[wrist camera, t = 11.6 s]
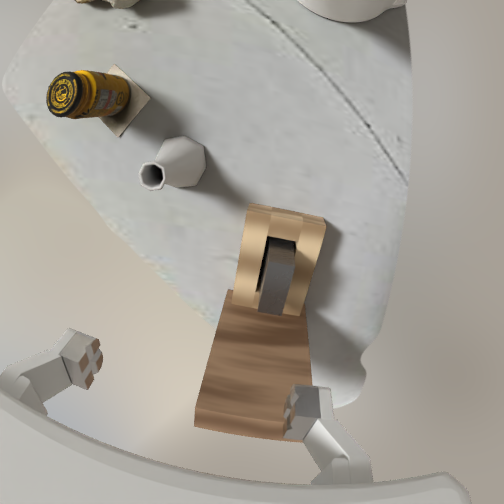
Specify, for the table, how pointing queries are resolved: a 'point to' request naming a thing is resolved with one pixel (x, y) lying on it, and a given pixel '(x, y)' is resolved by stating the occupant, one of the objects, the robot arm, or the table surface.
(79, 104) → the condiment
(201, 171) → the flask
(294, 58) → the table surface
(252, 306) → the tan slotted wooden fixture
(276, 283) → the brushed steel bar
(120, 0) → the ceramic sculpture
